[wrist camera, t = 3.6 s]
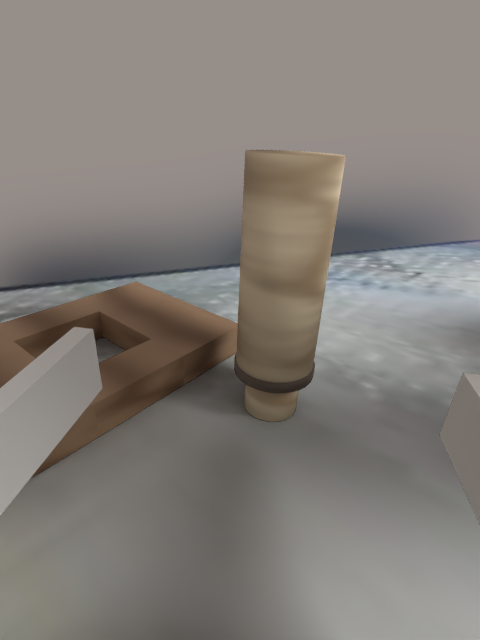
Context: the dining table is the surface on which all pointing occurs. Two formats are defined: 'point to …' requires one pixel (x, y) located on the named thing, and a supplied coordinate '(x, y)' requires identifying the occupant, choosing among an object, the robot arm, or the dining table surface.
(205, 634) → the dining table surface
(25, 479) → the robot arm
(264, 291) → the birch peg
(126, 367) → the walnut board
